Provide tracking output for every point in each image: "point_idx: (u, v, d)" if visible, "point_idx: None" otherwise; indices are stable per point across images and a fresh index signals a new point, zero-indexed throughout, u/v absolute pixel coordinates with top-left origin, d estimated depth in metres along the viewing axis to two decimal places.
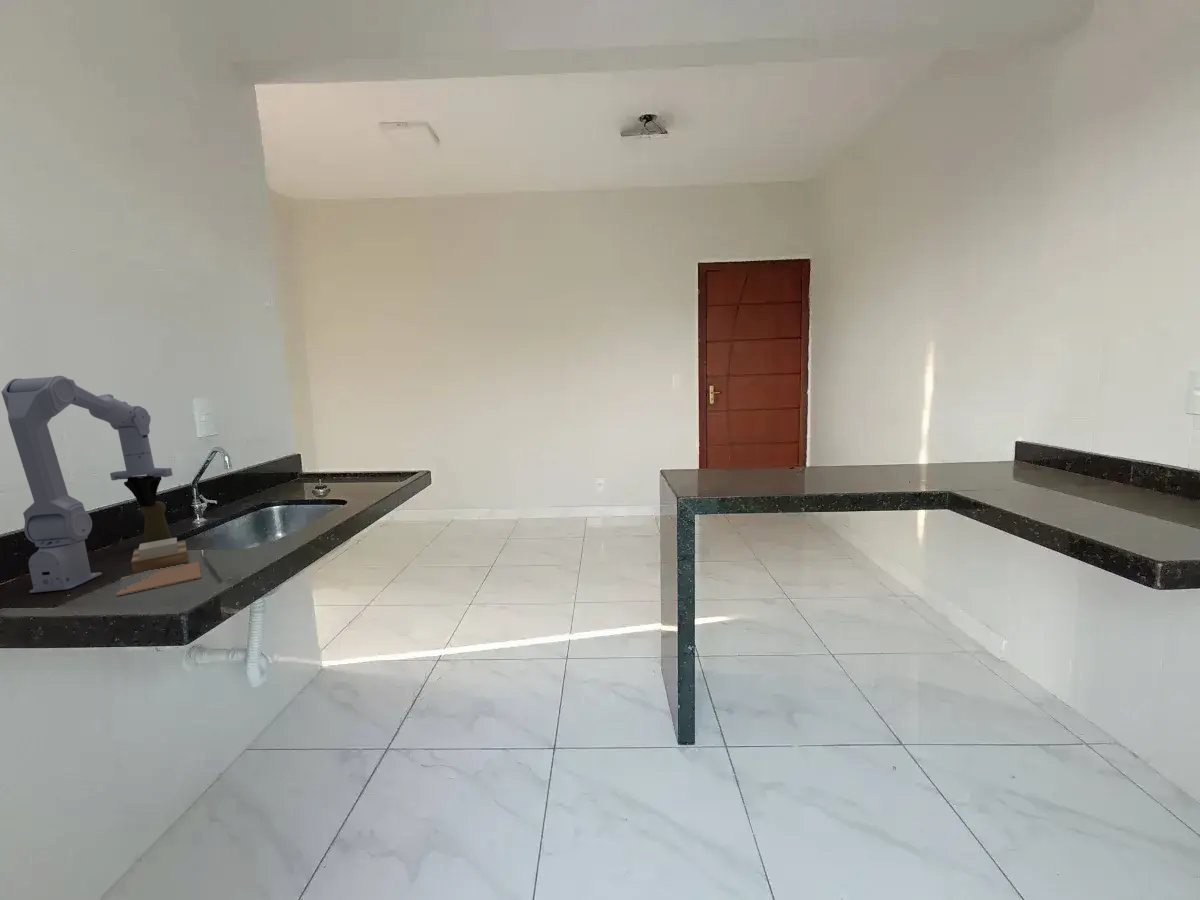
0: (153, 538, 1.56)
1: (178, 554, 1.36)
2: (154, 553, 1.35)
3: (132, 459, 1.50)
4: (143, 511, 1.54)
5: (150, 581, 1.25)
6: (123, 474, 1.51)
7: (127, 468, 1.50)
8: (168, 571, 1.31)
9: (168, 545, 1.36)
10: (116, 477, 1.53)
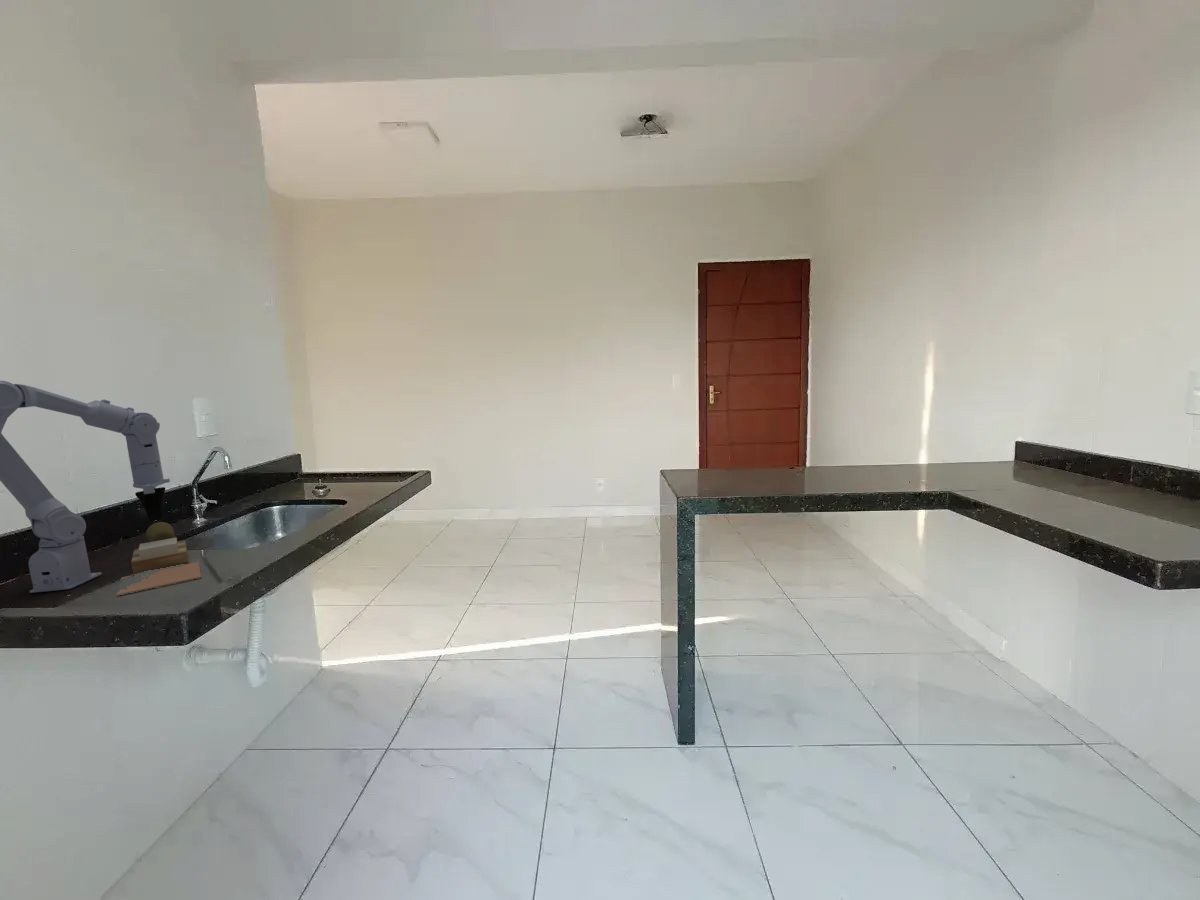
0: None
1: (178, 554, 1.36)
2: (154, 553, 1.35)
3: (131, 469, 1.39)
4: None
5: (150, 581, 1.25)
6: None
7: None
8: (168, 571, 1.31)
9: (168, 545, 1.36)
10: None
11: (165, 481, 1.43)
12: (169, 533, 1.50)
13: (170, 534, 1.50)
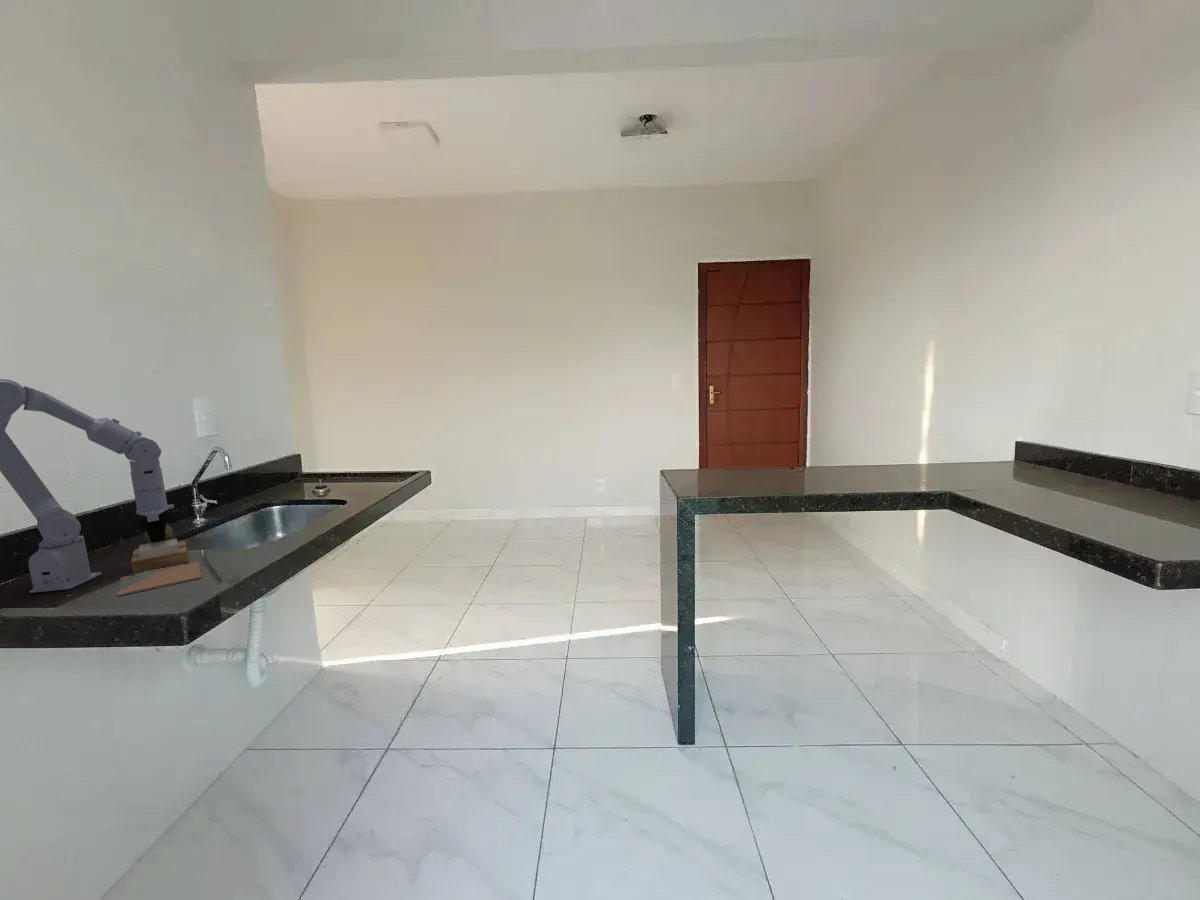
0: None
1: (178, 554, 1.36)
2: (154, 554, 1.33)
3: (135, 496, 1.37)
4: None
5: (150, 581, 1.25)
6: None
7: None
8: (168, 571, 1.31)
9: (168, 546, 1.35)
10: None
11: (169, 507, 1.40)
12: (167, 533, 1.49)
13: (168, 534, 1.49)
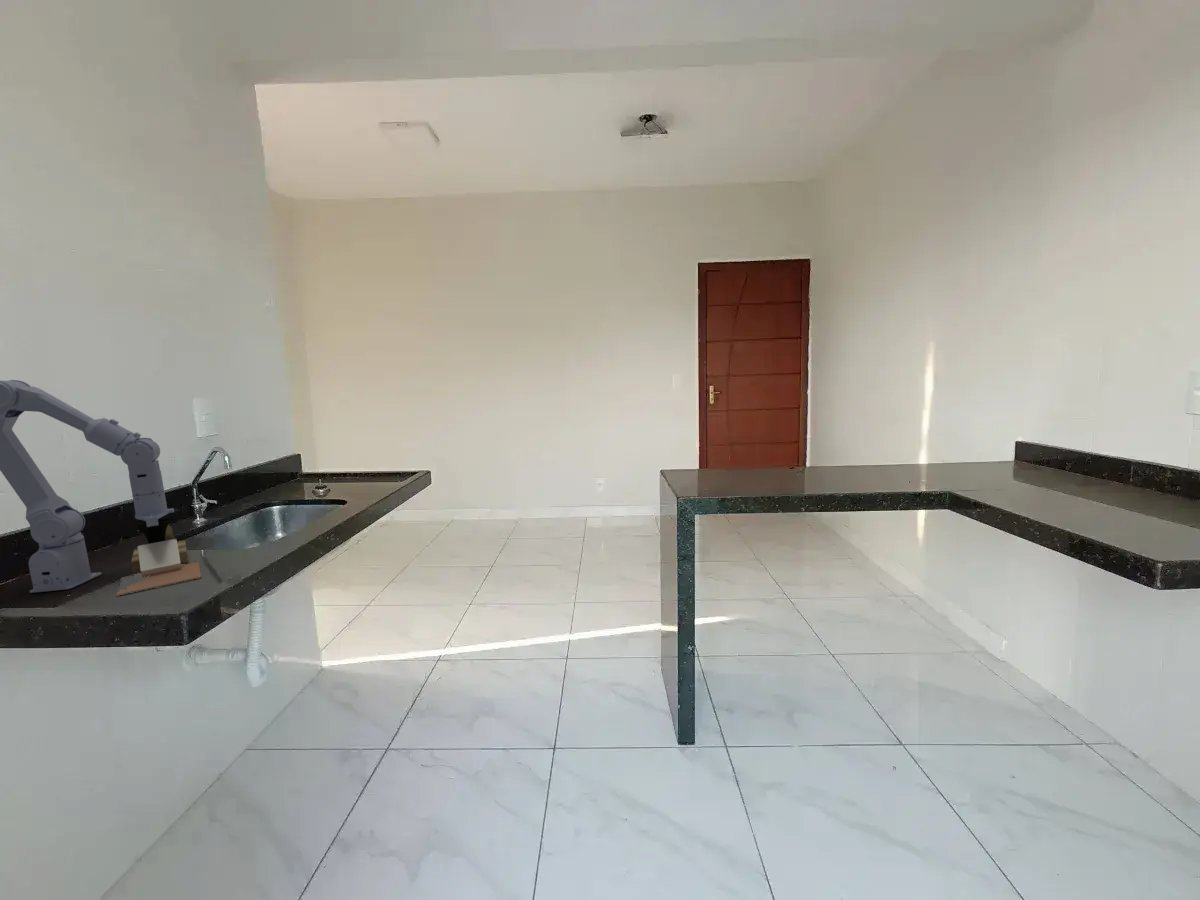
0: None
1: None
2: (157, 571, 1.30)
3: (133, 500, 1.31)
4: None
5: (150, 581, 1.25)
6: None
7: None
8: (168, 571, 1.31)
9: (171, 565, 1.31)
10: None
11: (169, 511, 1.35)
12: (167, 533, 1.49)
13: (168, 534, 1.49)
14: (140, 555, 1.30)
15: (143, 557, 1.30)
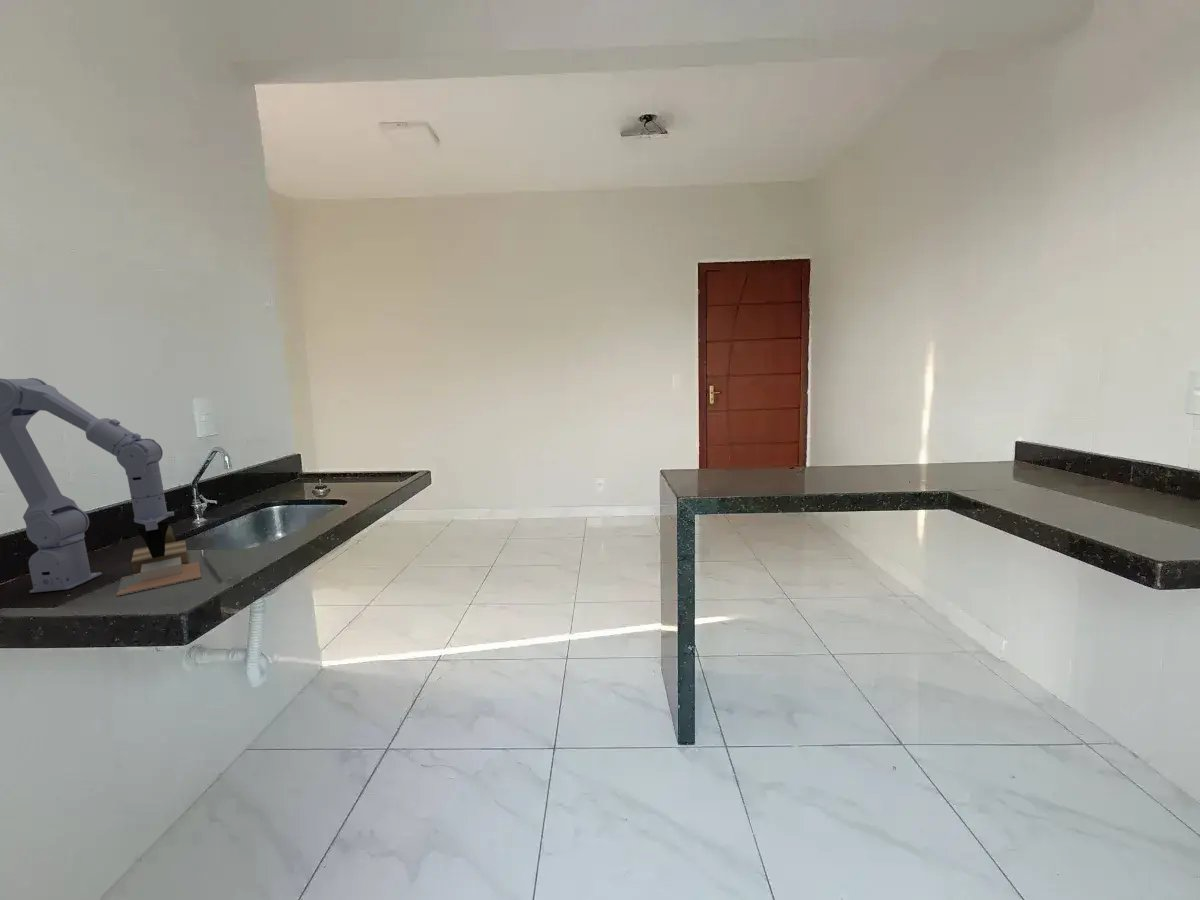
0: None
1: (178, 554, 1.36)
2: (157, 575, 1.27)
3: (132, 503, 1.28)
4: None
5: (150, 581, 1.25)
6: None
7: None
8: None
9: (172, 566, 1.28)
10: None
11: (169, 515, 1.31)
12: (167, 533, 1.49)
13: (168, 534, 1.49)
14: (142, 567, 1.29)
15: (145, 567, 1.28)
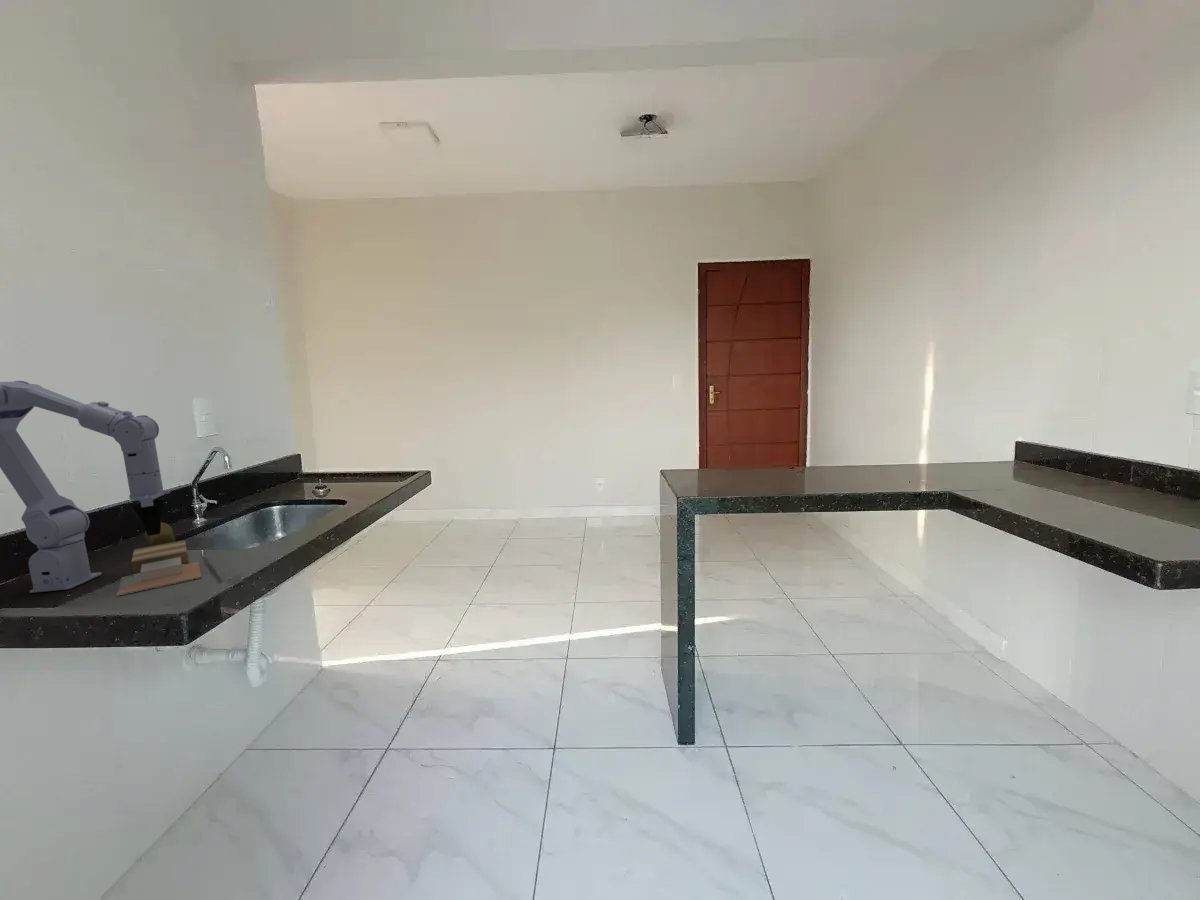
0: None
1: (178, 554, 1.36)
2: (157, 575, 1.27)
3: (128, 480, 1.26)
4: None
5: (150, 581, 1.25)
6: None
7: None
8: None
9: (172, 566, 1.28)
10: None
11: (165, 492, 1.30)
12: (167, 533, 1.49)
13: (168, 534, 1.49)
14: (142, 567, 1.29)
15: (145, 567, 1.28)
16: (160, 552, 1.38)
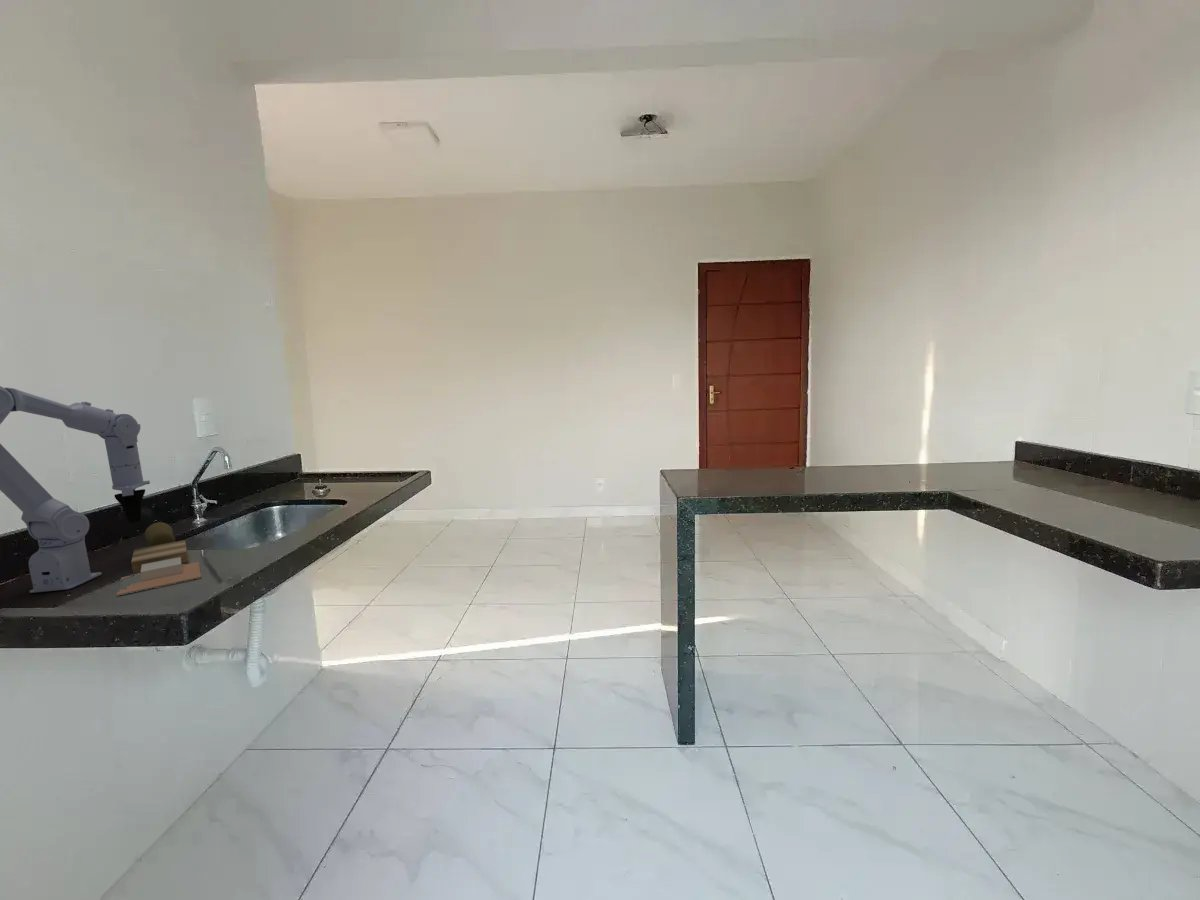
0: None
1: (178, 554, 1.36)
2: (157, 575, 1.27)
3: (110, 471, 1.38)
4: None
5: (150, 581, 1.25)
6: None
7: None
8: None
9: (172, 566, 1.28)
10: None
11: (145, 483, 1.42)
12: (167, 533, 1.49)
13: (168, 534, 1.49)
14: (142, 567, 1.29)
15: (145, 567, 1.28)
16: (160, 552, 1.38)
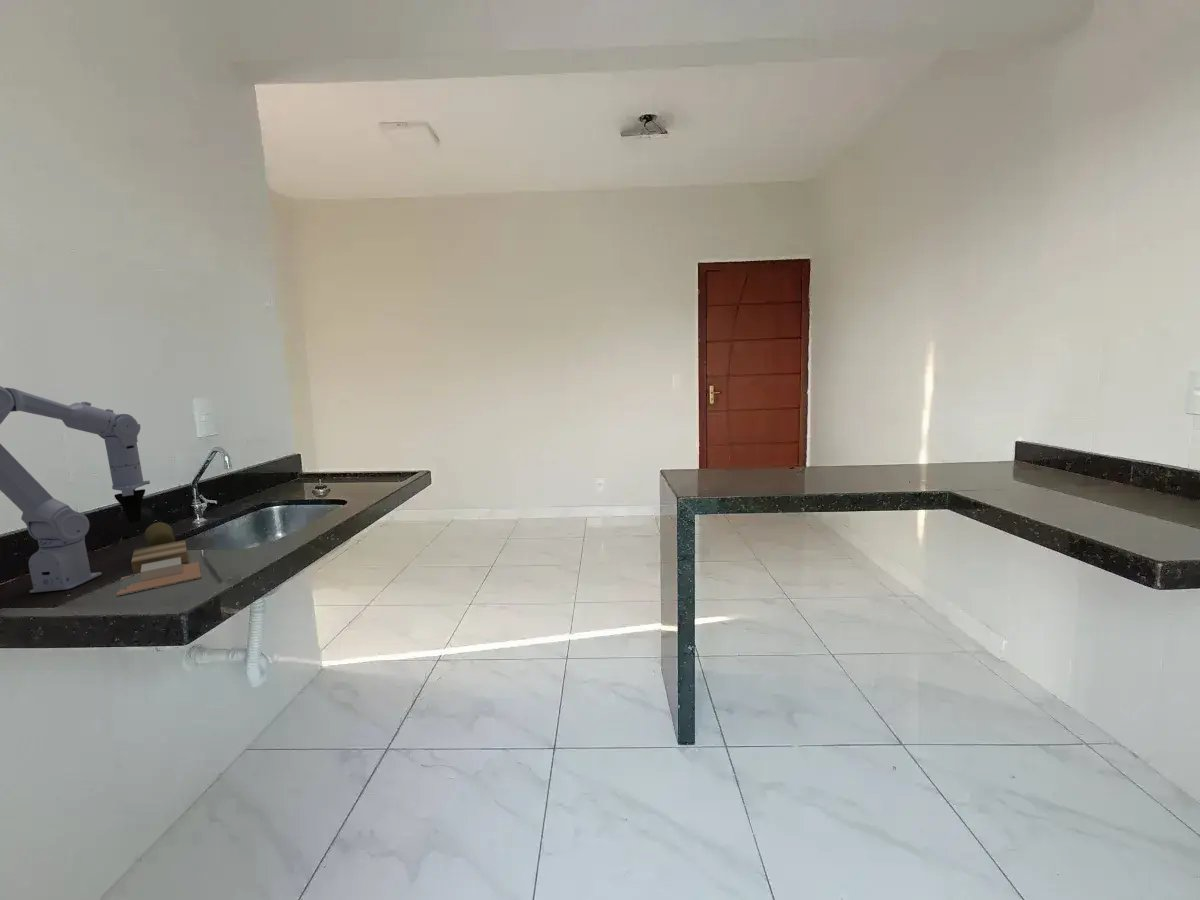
0: None
1: (178, 554, 1.36)
2: (157, 575, 1.27)
3: (110, 471, 1.38)
4: None
5: (150, 581, 1.25)
6: None
7: None
8: None
9: (172, 566, 1.28)
10: None
11: (145, 483, 1.42)
12: (167, 533, 1.49)
13: (168, 534, 1.49)
14: (142, 567, 1.29)
15: (145, 567, 1.28)
16: (160, 552, 1.38)
